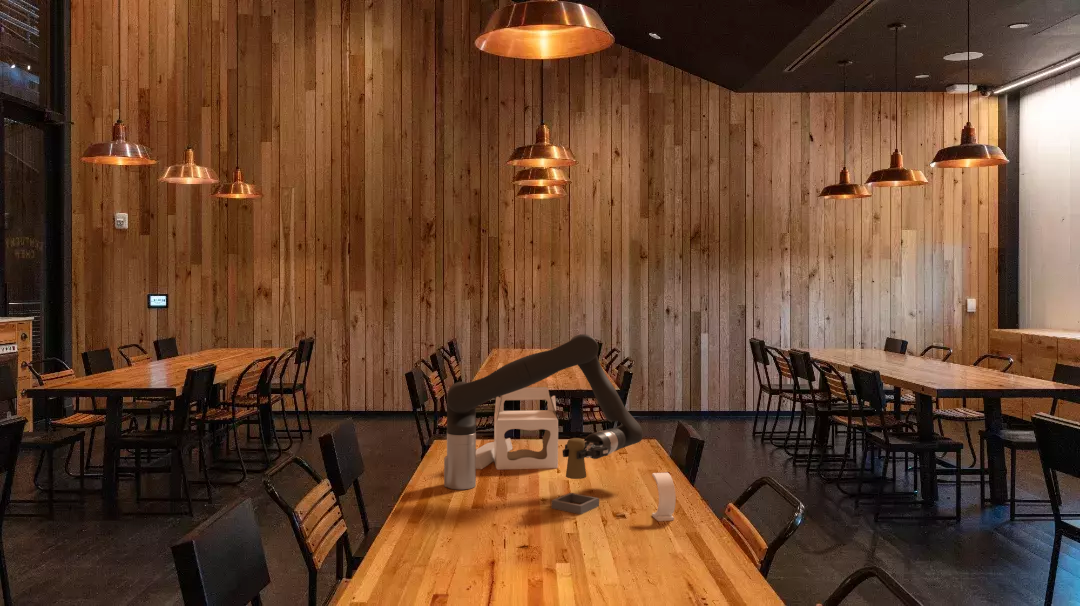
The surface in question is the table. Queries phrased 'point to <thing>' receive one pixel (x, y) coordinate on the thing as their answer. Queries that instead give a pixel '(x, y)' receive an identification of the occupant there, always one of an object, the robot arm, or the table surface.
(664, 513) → the white curved bracket
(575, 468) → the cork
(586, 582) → the table surface
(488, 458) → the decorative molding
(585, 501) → the square frame
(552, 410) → the gable box
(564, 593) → the table surface
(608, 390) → the robot arm
